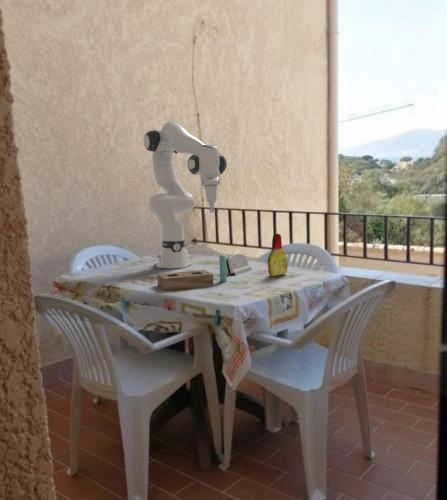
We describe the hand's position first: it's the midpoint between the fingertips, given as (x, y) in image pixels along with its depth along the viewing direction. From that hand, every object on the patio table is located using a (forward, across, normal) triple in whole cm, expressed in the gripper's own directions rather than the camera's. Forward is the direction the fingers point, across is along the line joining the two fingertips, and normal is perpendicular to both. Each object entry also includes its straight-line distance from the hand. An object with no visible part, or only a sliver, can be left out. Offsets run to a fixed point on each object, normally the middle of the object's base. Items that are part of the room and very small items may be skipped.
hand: (212, 212), depth 232 cm
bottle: (+32, -8, +30) cm, 44 cm away
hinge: (+31, -20, +11) cm, 39 cm away
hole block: (+31, +8, -13) cm, 35 cm away
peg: (+32, +2, +4) cm, 32 cm away
